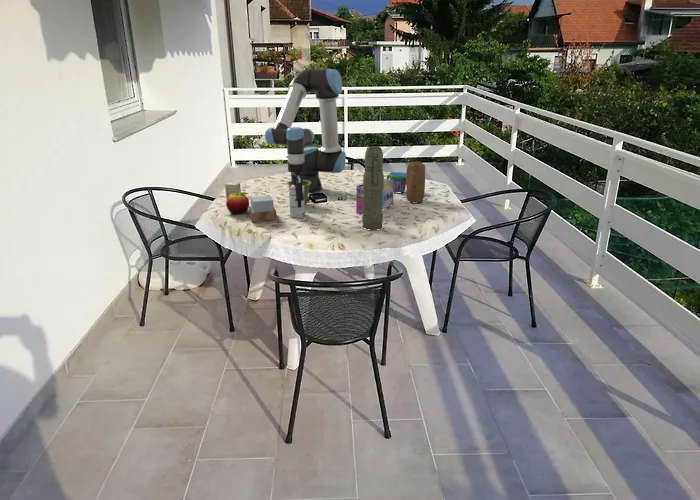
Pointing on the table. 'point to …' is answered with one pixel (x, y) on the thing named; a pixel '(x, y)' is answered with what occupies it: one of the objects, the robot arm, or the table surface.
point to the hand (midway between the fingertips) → (297, 211)
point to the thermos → (373, 188)
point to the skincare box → (232, 188)
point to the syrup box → (293, 203)
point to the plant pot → (306, 188)
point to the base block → (262, 216)
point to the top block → (262, 203)
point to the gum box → (386, 196)
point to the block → (415, 182)
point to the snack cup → (398, 181)
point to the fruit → (237, 203)
